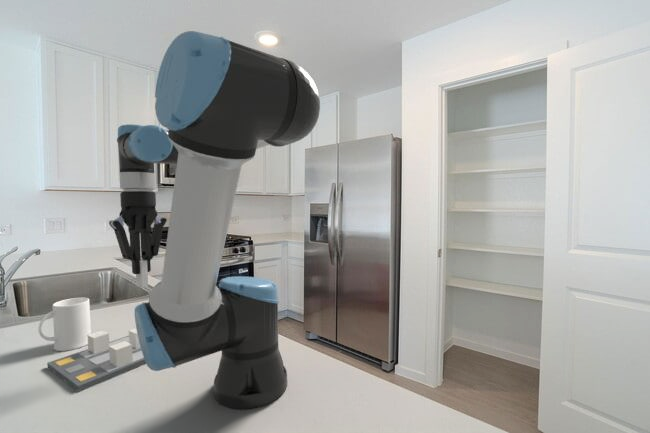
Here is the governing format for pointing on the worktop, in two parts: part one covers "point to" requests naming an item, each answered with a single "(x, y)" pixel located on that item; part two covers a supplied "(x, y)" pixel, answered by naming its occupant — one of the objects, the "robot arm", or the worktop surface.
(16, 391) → the worktop surface
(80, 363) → the switch bank
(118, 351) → the white cube
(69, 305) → the mug
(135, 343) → the cream cube block
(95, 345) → the off-white cube
